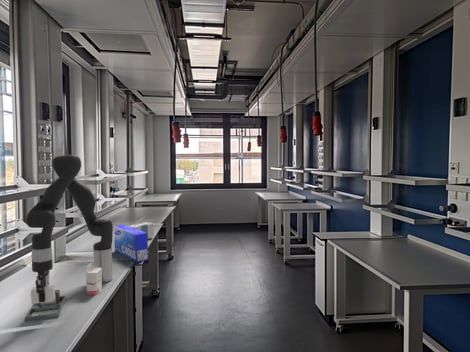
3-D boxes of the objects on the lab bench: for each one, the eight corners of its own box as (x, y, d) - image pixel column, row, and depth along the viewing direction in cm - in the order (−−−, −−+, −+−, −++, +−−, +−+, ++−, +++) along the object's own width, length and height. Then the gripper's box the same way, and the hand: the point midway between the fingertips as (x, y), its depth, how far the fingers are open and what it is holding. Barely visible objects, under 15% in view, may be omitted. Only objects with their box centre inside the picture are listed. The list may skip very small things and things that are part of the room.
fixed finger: (40, 303, 158) (40, 291, 158) (60, 301, 160) (59, 289, 160) (38, 307, 154) (37, 295, 154) (58, 305, 156) (58, 293, 156)
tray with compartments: (36, 304, 160) (36, 299, 160) (66, 301, 164) (66, 295, 163) (24, 324, 141) (24, 317, 141) (58, 319, 145) (58, 313, 144)
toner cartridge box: (114, 251, 255) (113, 225, 254) (125, 249, 260) (124, 224, 260) (136, 263, 225) (135, 234, 224) (148, 260, 230) (147, 232, 229)
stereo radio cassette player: (135, 243, 278) (134, 218, 277) (127, 242, 282) (127, 217, 281) (154, 238, 296) (153, 214, 295) (147, 237, 300) (146, 214, 299)
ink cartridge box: (97, 296, 169) (96, 266, 168) (86, 297, 168) (85, 266, 168) (102, 290, 177) (101, 261, 177) (92, 290, 177) (91, 261, 176)
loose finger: (33, 300, 148) (33, 287, 147) (55, 297, 150) (54, 284, 150) (31, 304, 143) (30, 290, 143) (53, 301, 146) (52, 288, 146)
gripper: (36, 255, 152) (37, 294, 152) (27, 264, 138) (28, 307, 139) (55, 253, 154) (56, 292, 155) (48, 262, 140) (50, 304, 141)
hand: (43, 299), depth 147 cm, fingers closed on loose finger, 4 cm apart
